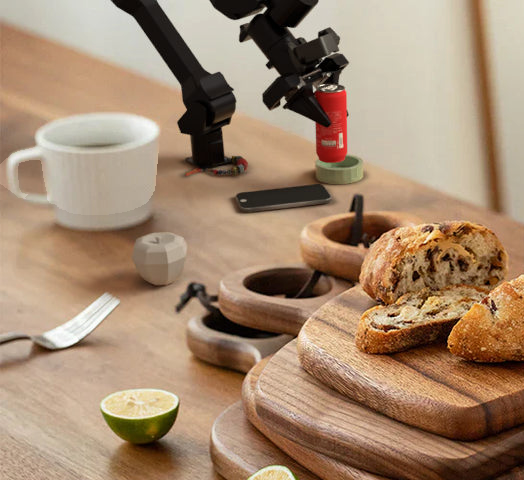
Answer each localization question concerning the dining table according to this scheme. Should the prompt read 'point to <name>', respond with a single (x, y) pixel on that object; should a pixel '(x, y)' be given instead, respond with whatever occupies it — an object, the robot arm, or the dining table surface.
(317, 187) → the smartphone
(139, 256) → the apple
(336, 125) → the beverage can
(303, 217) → the dining table surface
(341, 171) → the ring
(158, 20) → the robot arm
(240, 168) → the necklace
